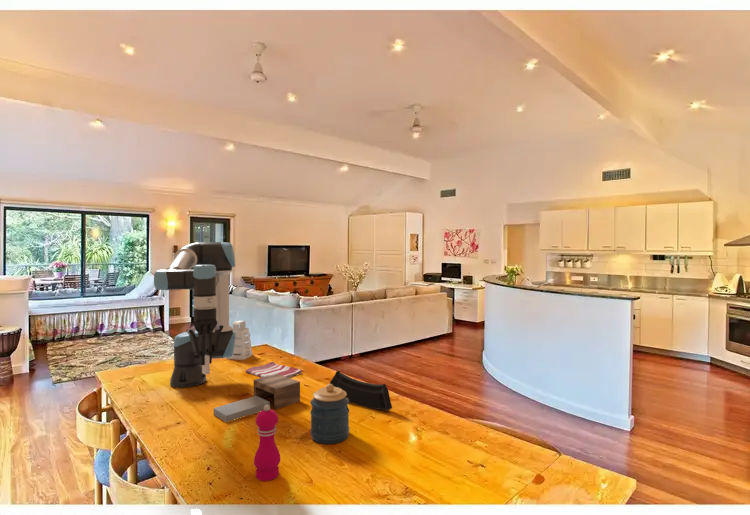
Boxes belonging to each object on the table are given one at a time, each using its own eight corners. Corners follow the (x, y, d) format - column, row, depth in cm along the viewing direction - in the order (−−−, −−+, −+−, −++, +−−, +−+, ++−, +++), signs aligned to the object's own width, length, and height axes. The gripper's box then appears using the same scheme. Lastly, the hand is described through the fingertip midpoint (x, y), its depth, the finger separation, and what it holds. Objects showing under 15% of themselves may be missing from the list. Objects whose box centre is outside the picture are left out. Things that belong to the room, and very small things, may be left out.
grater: (252, 354, 244) (252, 320, 243) (243, 359, 234) (243, 323, 233) (235, 353, 246) (235, 319, 245) (226, 358, 236) (225, 322, 235)
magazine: (397, 389, 162) (340, 354, 179) (392, 392, 160) (335, 356, 176) (386, 428, 166) (332, 390, 183) (382, 431, 163) (326, 392, 180)
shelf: (253, 399, 176) (253, 379, 176) (277, 391, 185) (276, 373, 184) (276, 409, 165) (276, 389, 165) (300, 401, 174) (300, 381, 174)
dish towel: (272, 365, 225) (272, 360, 224) (303, 374, 211) (303, 368, 210) (245, 373, 211) (245, 368, 211) (276, 383, 197) (276, 377, 197)
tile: (213, 415, 160) (213, 408, 160) (256, 402, 173) (256, 395, 173) (226, 423, 153) (226, 415, 153) (269, 409, 166) (269, 402, 166)
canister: (318, 448, 135) (318, 393, 134) (305, 432, 146) (305, 381, 145) (355, 439, 141) (355, 386, 140) (340, 424, 152) (340, 375, 151)
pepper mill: (256, 468, 122) (256, 400, 122) (282, 467, 123) (281, 399, 122) (251, 483, 115) (250, 410, 114) (278, 481, 116) (278, 409, 115)
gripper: (191, 310, 145) (192, 379, 145) (227, 306, 154) (228, 371, 155) (182, 308, 150) (182, 375, 150) (217, 305, 159) (217, 367, 160)
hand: (205, 373), depth 152 cm, fingers closed
